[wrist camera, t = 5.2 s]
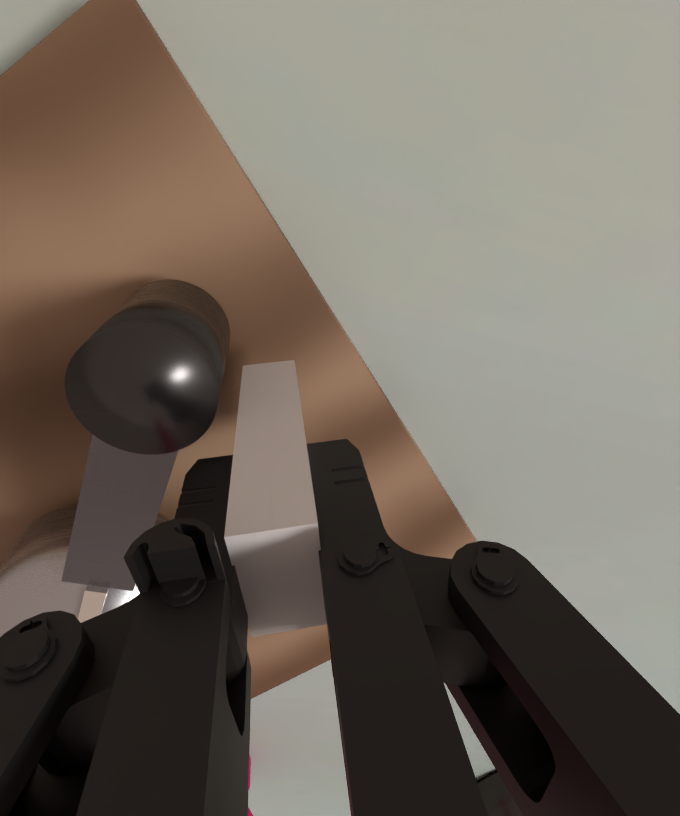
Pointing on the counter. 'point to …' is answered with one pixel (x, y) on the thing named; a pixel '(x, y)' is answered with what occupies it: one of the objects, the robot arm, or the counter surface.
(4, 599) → the dark grey dumbbell shape
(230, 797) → the robot arm
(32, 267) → the wooden cutting board
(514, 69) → the counter surface
